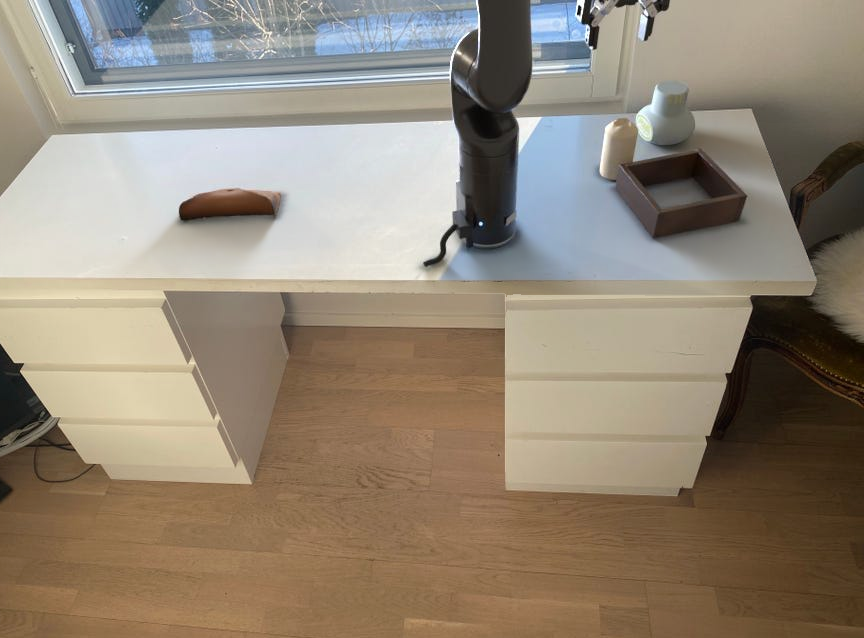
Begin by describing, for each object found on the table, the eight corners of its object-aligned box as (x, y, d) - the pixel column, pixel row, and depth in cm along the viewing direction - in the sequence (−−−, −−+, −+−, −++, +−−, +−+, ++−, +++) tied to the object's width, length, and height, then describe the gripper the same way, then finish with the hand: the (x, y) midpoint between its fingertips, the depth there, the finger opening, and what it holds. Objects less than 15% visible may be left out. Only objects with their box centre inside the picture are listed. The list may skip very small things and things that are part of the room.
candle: (631, 181, 129) (640, 130, 122) (599, 180, 130) (606, 130, 123) (630, 164, 133) (639, 114, 125) (599, 163, 134) (606, 113, 126)
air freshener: (629, 127, 141) (637, 78, 134) (669, 120, 142) (679, 70, 134) (653, 156, 134) (664, 105, 126) (696, 147, 134) (708, 97, 127)
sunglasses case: (282, 190, 137) (273, 174, 130) (281, 225, 135) (272, 210, 129) (190, 196, 139) (177, 180, 132) (189, 230, 137) (175, 216, 131)
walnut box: (652, 238, 118) (658, 213, 114) (615, 189, 128) (619, 164, 124) (739, 220, 118) (747, 195, 115) (695, 173, 129) (701, 148, 125)
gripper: (669, -84, 107) (649, 27, 119) (577, -69, 106) (566, 41, 118) (693, -69, 102) (669, 46, 113) (597, -54, 101) (583, 60, 112)
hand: (617, 43), depth 115 cm, fingers open, 8 cm apart
